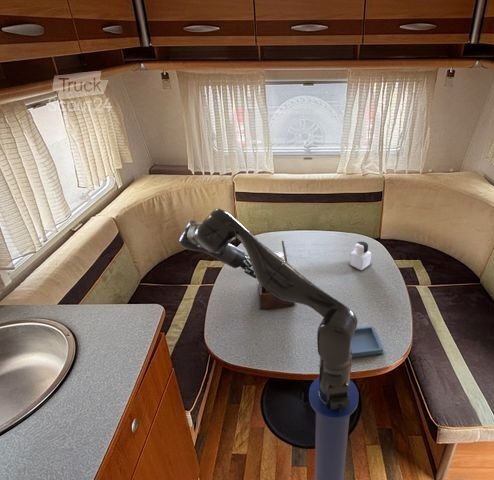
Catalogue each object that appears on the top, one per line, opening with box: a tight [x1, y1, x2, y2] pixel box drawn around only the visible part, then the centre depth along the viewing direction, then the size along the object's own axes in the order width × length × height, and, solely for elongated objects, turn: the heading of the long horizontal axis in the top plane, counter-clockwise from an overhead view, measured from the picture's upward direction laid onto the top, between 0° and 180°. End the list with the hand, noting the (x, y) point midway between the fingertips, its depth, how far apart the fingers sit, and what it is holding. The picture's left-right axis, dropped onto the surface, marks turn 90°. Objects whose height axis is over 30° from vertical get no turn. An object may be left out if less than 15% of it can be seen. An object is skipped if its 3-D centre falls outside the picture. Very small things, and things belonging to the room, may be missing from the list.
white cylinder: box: [273, 251, 285, 260], centre depth 170 cm, size 7×7×7 cm
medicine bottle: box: [349, 240, 372, 271], centre depth 170 cm, size 7×7×12 cm
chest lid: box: [281, 240, 290, 264], centre depth 147 cm, size 15×16×1 cm
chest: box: [258, 282, 295, 310], centre depth 153 cm, size 14×16×7 cm
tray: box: [350, 325, 384, 358], centre depth 130 cm, size 12×16×2 cm
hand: (260, 270), depth 145 cm, fingers open, 8 cm apart
